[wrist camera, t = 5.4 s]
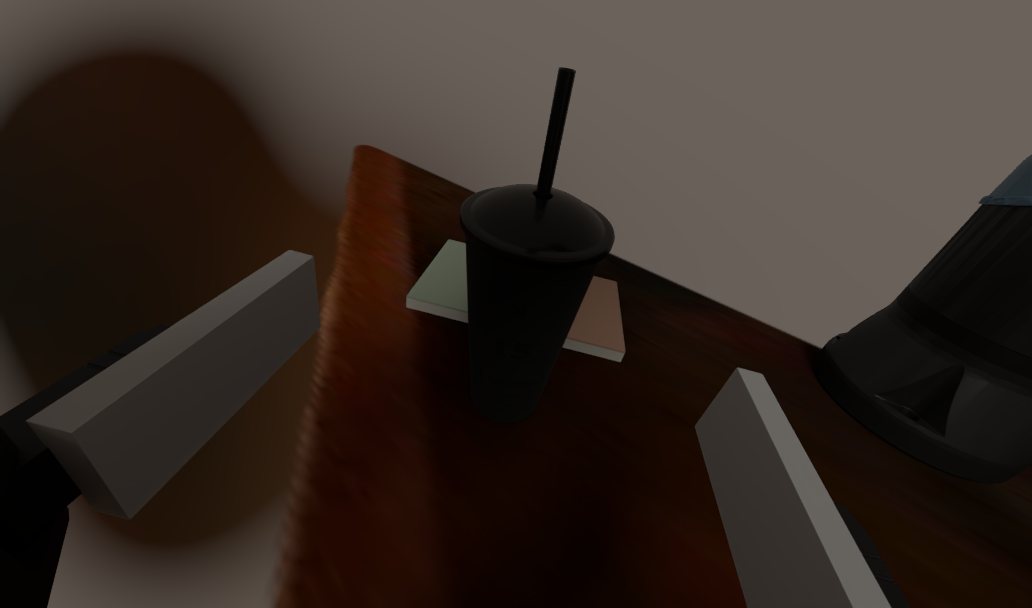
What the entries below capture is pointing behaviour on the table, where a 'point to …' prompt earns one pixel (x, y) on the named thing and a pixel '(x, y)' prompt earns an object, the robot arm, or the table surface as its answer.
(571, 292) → the drinking cup
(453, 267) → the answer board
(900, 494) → the table surface
